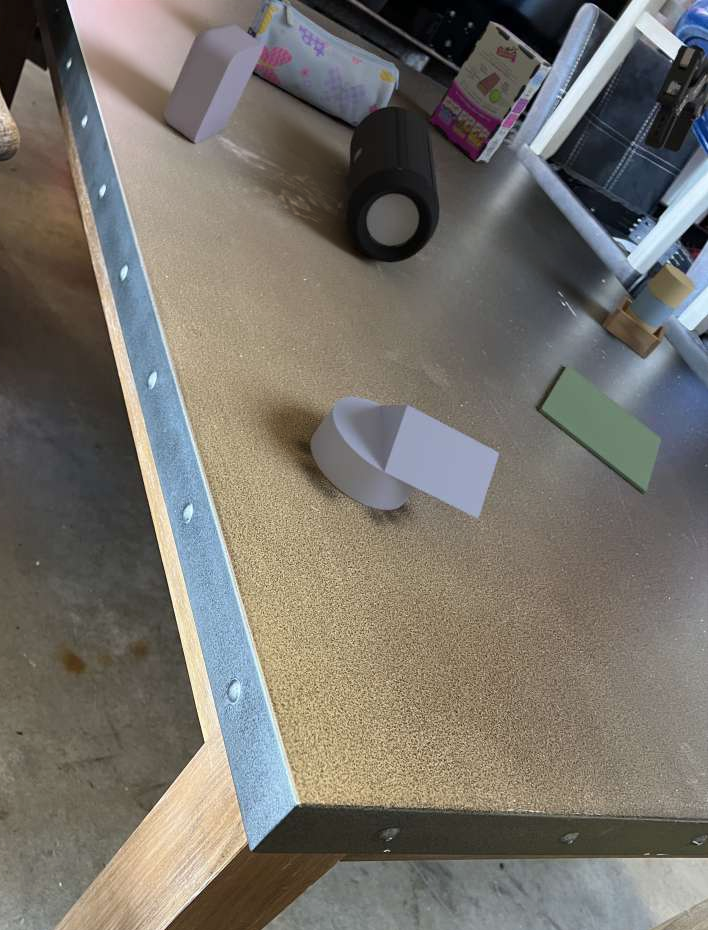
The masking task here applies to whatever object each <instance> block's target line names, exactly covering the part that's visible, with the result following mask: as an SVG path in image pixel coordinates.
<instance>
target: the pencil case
mask: <svg viewBox="0 0 708 930" xmlns="http://www.w3.org/2000/svg"><path fill="white" fill-rule="evenodd" d="M246 33H248V34H249V35H250V36H252V37H253V38H255V39H256V40H257V41H259V42H260V43H261V44H263V50H262V53H261V55H260V58H259V60H258V62H257V64H256V66H255V68H254V70H253V72H252V73H255V74H256V75H258V76H259V77H261V78H263V80H266V81H268V82H269V83H271V84H273V85H275V86H277V87H279V88H281V89H282V90H285V91H286V92H287V93H289V94H291V95H293V96H295V97H297V98H298V99H300V100H302V101H304V102H306V103H308V104H309V105H312V106H313V107H315V108H317V109H319V110H320V111H322V112H325V113H326V114H328V115H331V116H333V117H336V118H339V119H340V120H341V119H342V120H343V121H345V122H346V123H347V124H350V125H352V126H353V127H354V128H357V126H358V125H359V124H360V122H361V121H362V120H363V119H364V118H365V117H366V116H368V115H369V114H370V113H372V112H374V111H376V110H378V109H380V108H384V107H388V106H387V105H388V104H389V102H390V99H391V98H392V94H393V92H394V89H395V90H398V89H399V77H400V71H399V69H398V68H397V66H396V65H395V63H393V62H390V61H388V60H385V59H383V58H381V57H380V56H378V55H376V54H374V53H372V52H369V51H367V50H365V49H363V48H362V47H359V46H358V45H355V44H353V43H351V42H349V41H346V40H344V39H343V38H340V37H338V36H335V35H333V34H332V33H330V32H328V31H327V30H325V29H324V28H323V27H322V26H320V25H318V24H317V23H315V22H314V21H312V20H311V19H310V18H308V17H307V16H305V15H304V14H303V13H301V12H300V11H299V10H297V8H295V7H293V6H292V5H291V2H290V0H262V1H261V4H260V6H259V8H258V9H257V11H256V13H255V15H254V17H253V20H252V23H251V25H250V26H249V27H248V29H247V32H246Z"/></svg>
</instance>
